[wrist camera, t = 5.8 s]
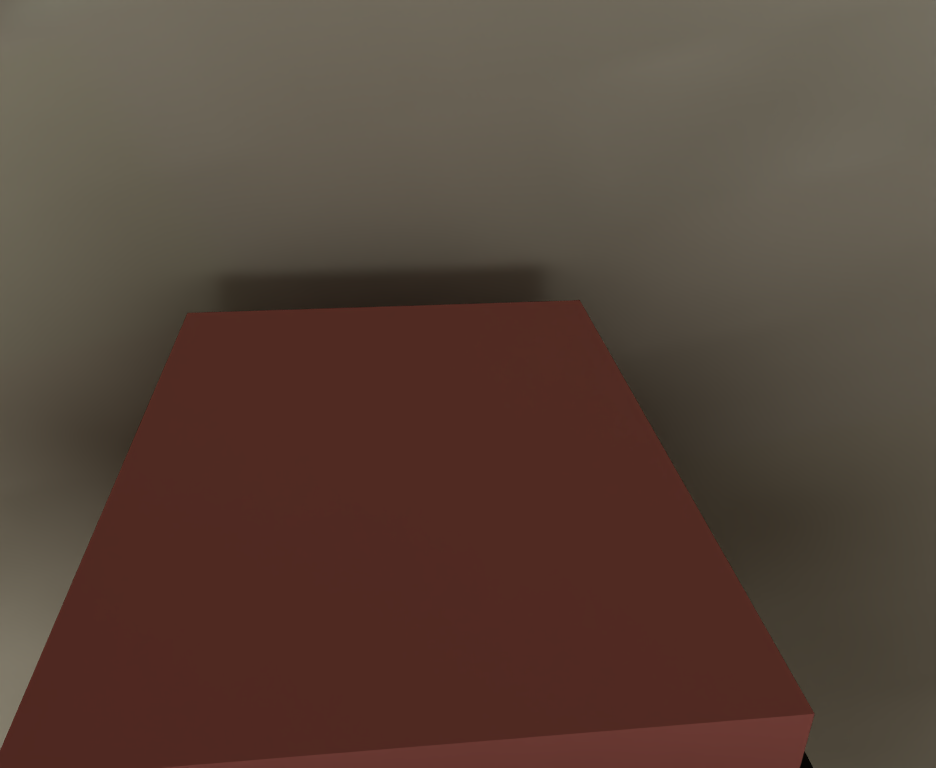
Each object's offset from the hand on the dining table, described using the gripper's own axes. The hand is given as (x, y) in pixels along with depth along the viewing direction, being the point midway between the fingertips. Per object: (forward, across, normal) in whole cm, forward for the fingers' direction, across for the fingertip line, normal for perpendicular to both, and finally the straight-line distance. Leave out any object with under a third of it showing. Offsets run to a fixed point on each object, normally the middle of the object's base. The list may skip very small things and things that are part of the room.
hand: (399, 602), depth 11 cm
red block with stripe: (+1, 0, 0) cm, 1 cm away
